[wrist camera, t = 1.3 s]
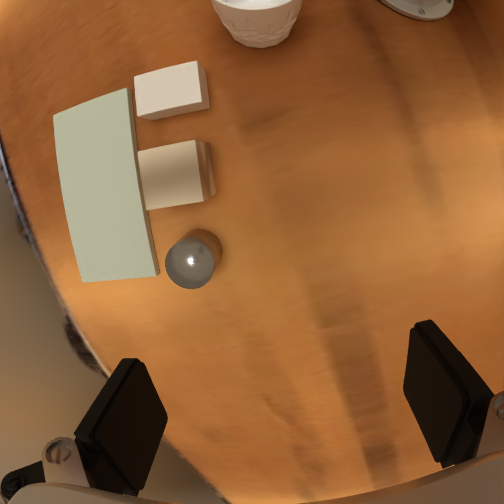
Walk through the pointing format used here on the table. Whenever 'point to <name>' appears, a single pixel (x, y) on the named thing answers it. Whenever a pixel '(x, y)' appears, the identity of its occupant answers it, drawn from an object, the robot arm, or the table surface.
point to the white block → (171, 91)
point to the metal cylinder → (193, 259)
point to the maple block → (176, 174)
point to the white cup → (258, 20)
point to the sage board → (104, 189)
